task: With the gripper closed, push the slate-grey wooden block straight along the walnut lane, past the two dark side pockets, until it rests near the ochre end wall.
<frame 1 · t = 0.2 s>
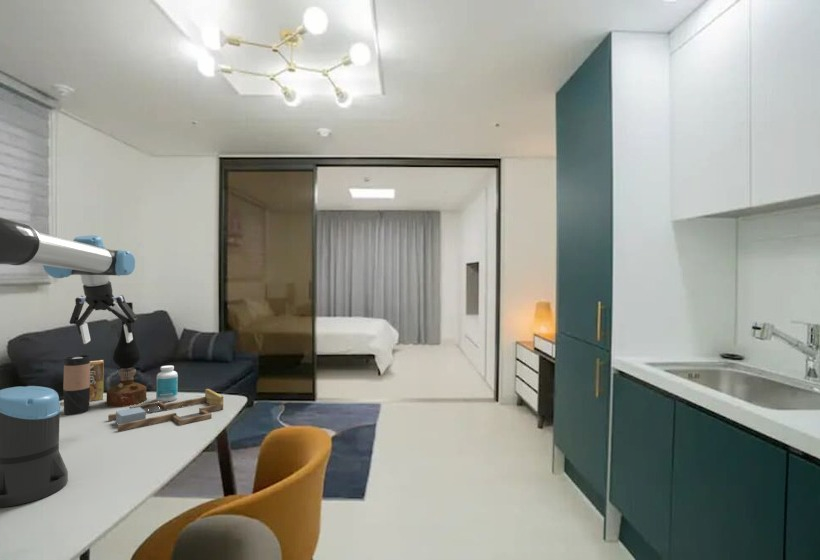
hand: (108, 341, 145), 27 cm above the table, tool tilted 15°, fingers open, 13 cm apart
oil lamp: (126, 402, 167), on the table
travel mug: (76, 412, 154), on the table
candy box: (89, 400, 168), on the table
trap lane: (166, 415, 152), on the table
pill bottle: (166, 400, 170), on the table
slate block: (130, 423, 144), on the table
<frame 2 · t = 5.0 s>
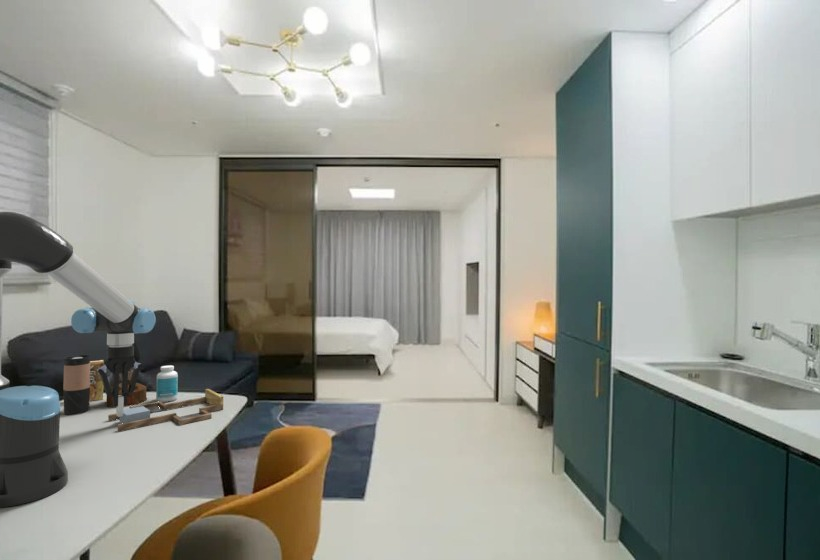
hand: (119, 415, 142), 3 cm above the table, tool pointing down, fingers closed
slate block: (134, 422, 145), on the table, touching gripper
everything else where it was.
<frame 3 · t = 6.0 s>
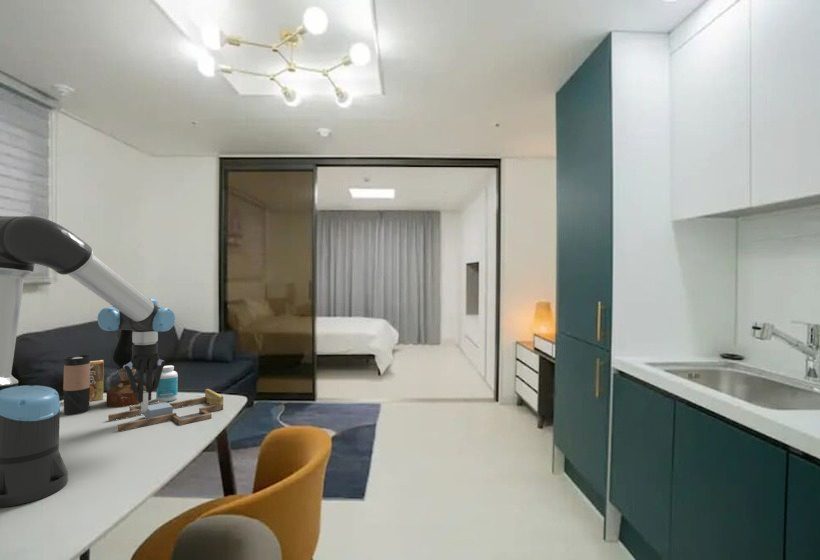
hand: (144, 410, 147), 3 cm above the table, tool pointing down, fingers closed
slate block: (158, 417, 150), on the table
everything else where it was.
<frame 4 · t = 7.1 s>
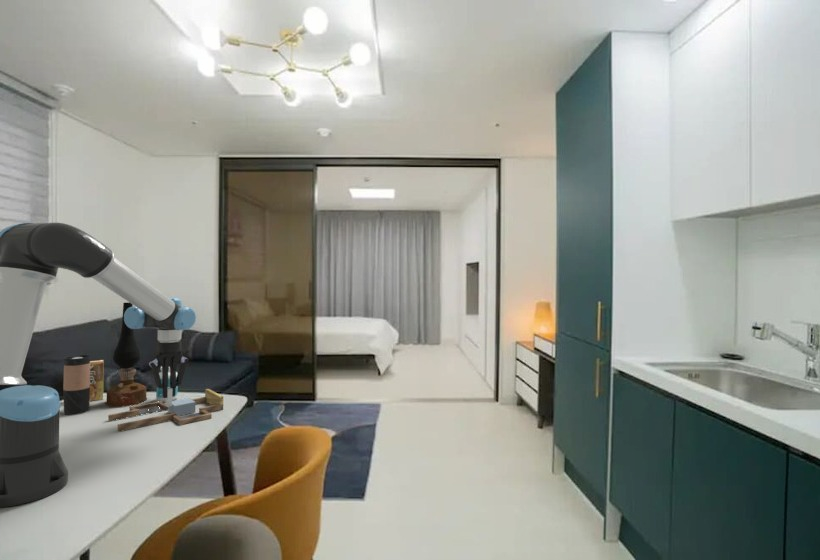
hand: (168, 406, 152), 3 cm above the table, tool pointing down, fingers closed
slate block: (181, 412, 155), on the table, touching gripper
everything else where it was.
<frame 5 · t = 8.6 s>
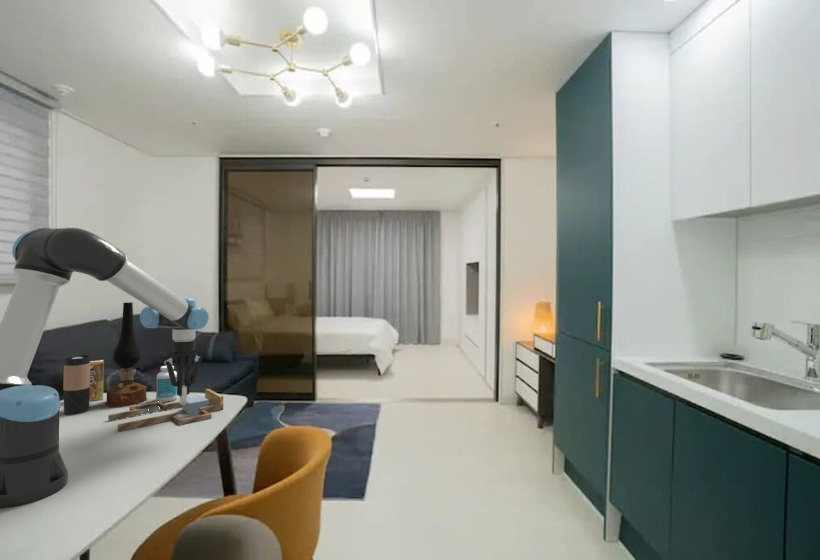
hand: (183, 403, 156), 3 cm above the table, tool pointing down, fingers closed
slate block: (195, 410, 159), on the table
everything else where it was.
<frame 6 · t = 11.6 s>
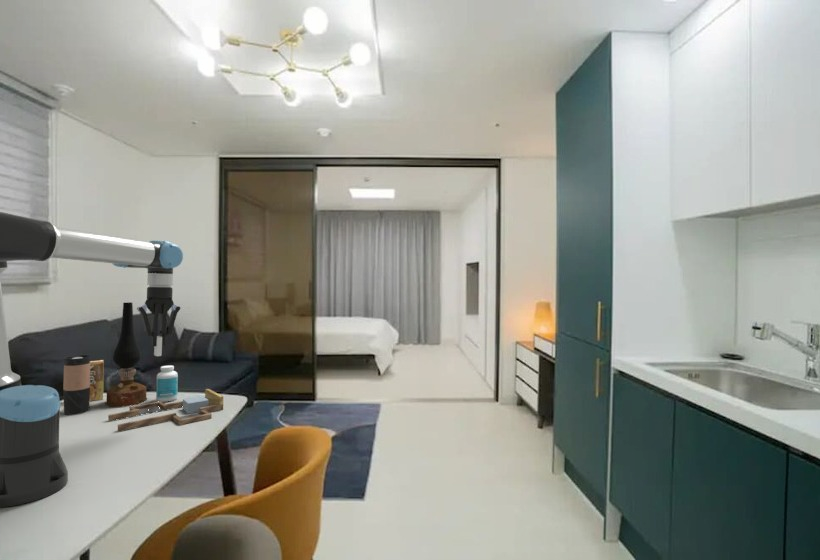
hand: (157, 355, 144), 23 cm above the table, tool pointing down, fingers closed
nothing on the table moved.
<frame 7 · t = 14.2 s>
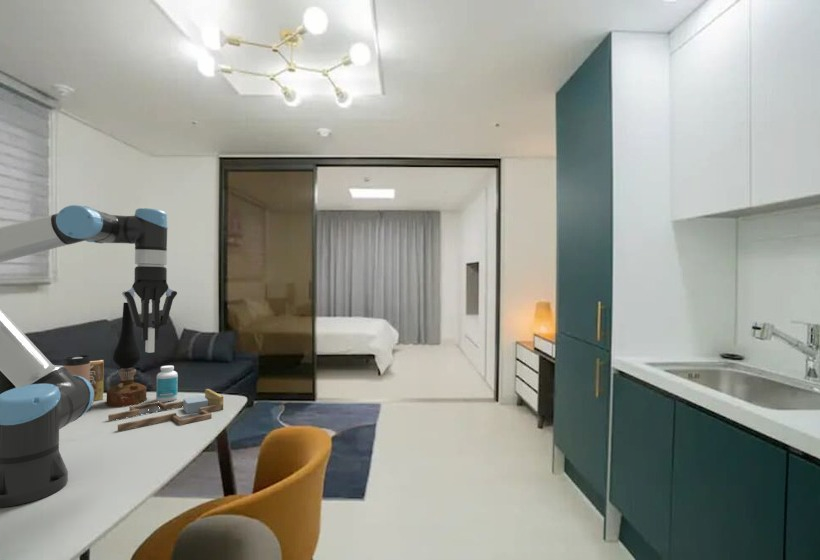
hand: (149, 351, 116), 29 cm above the table, tool pointing down, fingers closed
nothing on the table moved.
at the end: slate block inside the target area on the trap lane (1.7 cm from its centre), point 0.0 cm above the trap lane's base; slate block tilted 0° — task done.
